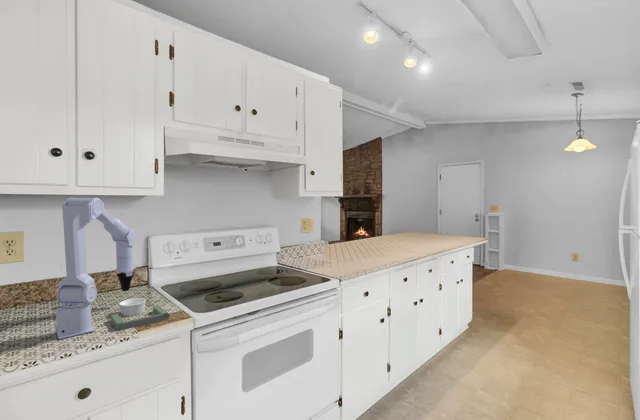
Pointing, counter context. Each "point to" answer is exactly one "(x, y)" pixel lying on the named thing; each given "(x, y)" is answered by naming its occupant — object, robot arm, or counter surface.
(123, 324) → the chute bay
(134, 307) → the ramekin
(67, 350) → the counter surface
